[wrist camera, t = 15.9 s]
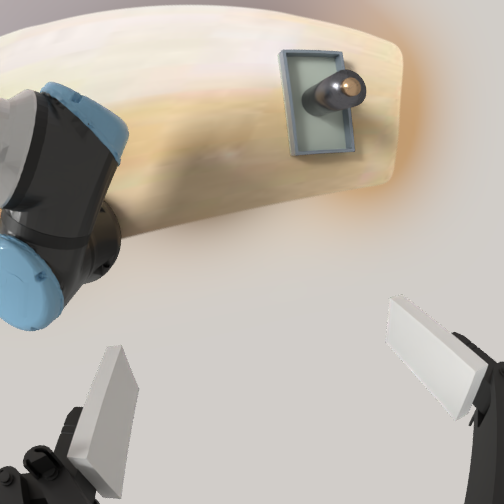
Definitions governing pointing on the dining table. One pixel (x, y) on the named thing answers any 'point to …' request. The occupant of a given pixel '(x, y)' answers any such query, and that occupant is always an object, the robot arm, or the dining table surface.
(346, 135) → the trough
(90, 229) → the robot arm
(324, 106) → the cell
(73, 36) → the dining table surface
